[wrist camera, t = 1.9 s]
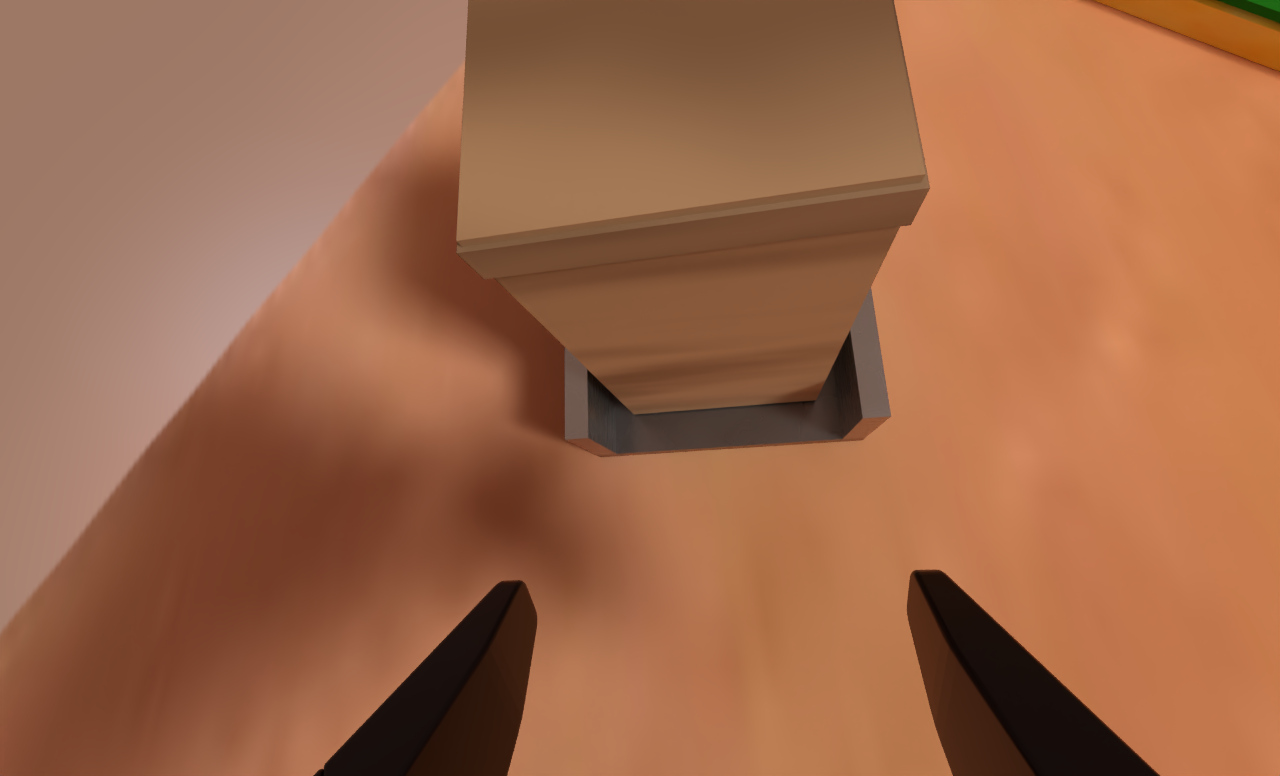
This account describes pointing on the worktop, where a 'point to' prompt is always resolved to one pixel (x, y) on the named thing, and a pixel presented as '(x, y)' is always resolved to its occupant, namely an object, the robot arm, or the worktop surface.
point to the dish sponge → (1217, 23)
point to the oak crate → (688, 184)
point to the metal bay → (738, 409)
